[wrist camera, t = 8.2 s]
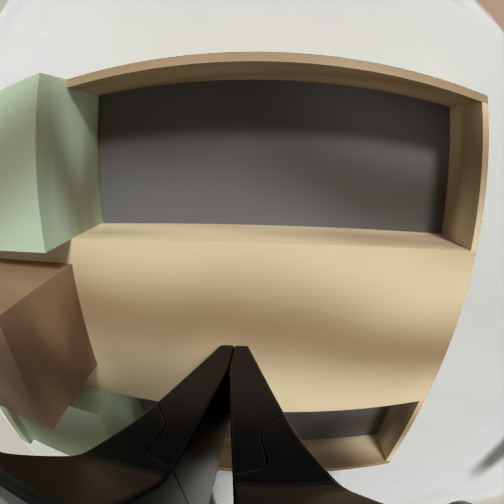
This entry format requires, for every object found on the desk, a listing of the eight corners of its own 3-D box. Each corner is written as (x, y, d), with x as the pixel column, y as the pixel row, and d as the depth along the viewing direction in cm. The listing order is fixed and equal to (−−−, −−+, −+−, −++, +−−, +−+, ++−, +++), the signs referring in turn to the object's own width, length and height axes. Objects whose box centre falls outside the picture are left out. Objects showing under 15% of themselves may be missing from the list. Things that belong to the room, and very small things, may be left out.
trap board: (379, 432, 15) (396, 489, 10) (51, 398, 16) (22, 439, 11) (451, 102, 9) (524, 91, 5) (-11, 125, 10) (-73, 131, 6)
